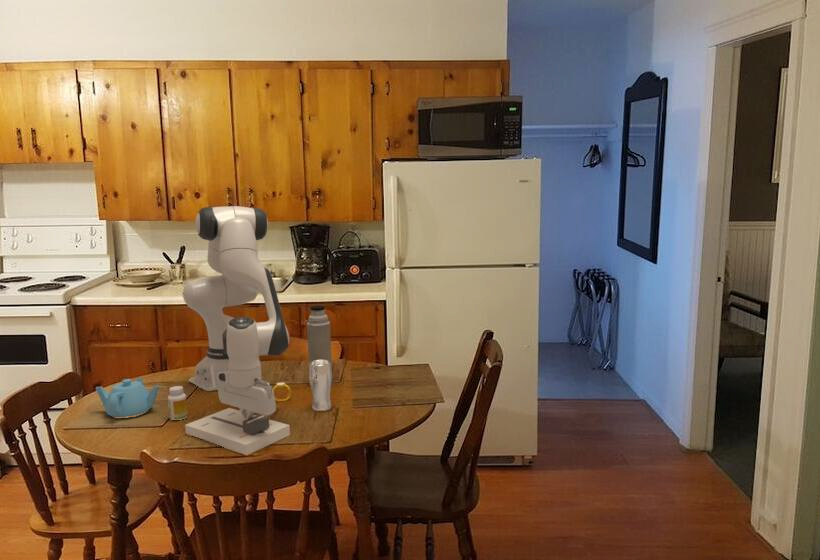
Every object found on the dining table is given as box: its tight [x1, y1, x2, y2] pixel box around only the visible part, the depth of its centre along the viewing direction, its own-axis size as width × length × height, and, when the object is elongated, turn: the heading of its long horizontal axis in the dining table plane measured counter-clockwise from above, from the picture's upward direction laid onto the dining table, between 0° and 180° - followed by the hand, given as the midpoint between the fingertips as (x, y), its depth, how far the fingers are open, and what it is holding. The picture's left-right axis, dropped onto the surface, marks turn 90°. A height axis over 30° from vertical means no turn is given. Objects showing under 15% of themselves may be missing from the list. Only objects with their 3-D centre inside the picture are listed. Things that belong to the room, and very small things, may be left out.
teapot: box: [95, 377, 160, 417], centre depth 210 cm, size 15×15×11 cm
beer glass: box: [308, 359, 333, 412], centre depth 209 cm, size 7×7×15 cm
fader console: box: [184, 407, 291, 456], centre depth 191 cm, size 26×16×3 cm, turn 55°
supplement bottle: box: [167, 385, 189, 421], centre depth 204 cm, size 5×5×10 cm
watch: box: [272, 381, 292, 403], centre depth 218 cm, size 6×3×6 cm, turn 101°
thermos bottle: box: [306, 305, 334, 387], centre depth 231 cm, size 8×8×28 cm
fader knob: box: [243, 414, 270, 435], centre depth 185 cm, size 4×6×3 cm, turn 145°
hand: (248, 423), depth 187 cm, fingers closed
